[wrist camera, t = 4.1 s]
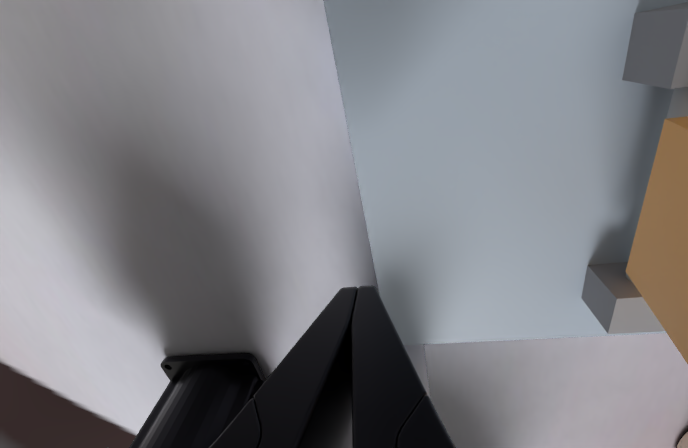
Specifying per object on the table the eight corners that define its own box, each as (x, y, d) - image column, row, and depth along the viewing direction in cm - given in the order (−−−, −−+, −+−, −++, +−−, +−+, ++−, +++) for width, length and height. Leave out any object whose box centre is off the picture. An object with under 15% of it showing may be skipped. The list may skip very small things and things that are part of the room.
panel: (388, 307, 18) (389, 380, 14) (333, -3, 11) (307, -23, 7) (808, 278, 14) (958, 365, 10) (1090, -198, 8) (1768, -422, 4)
